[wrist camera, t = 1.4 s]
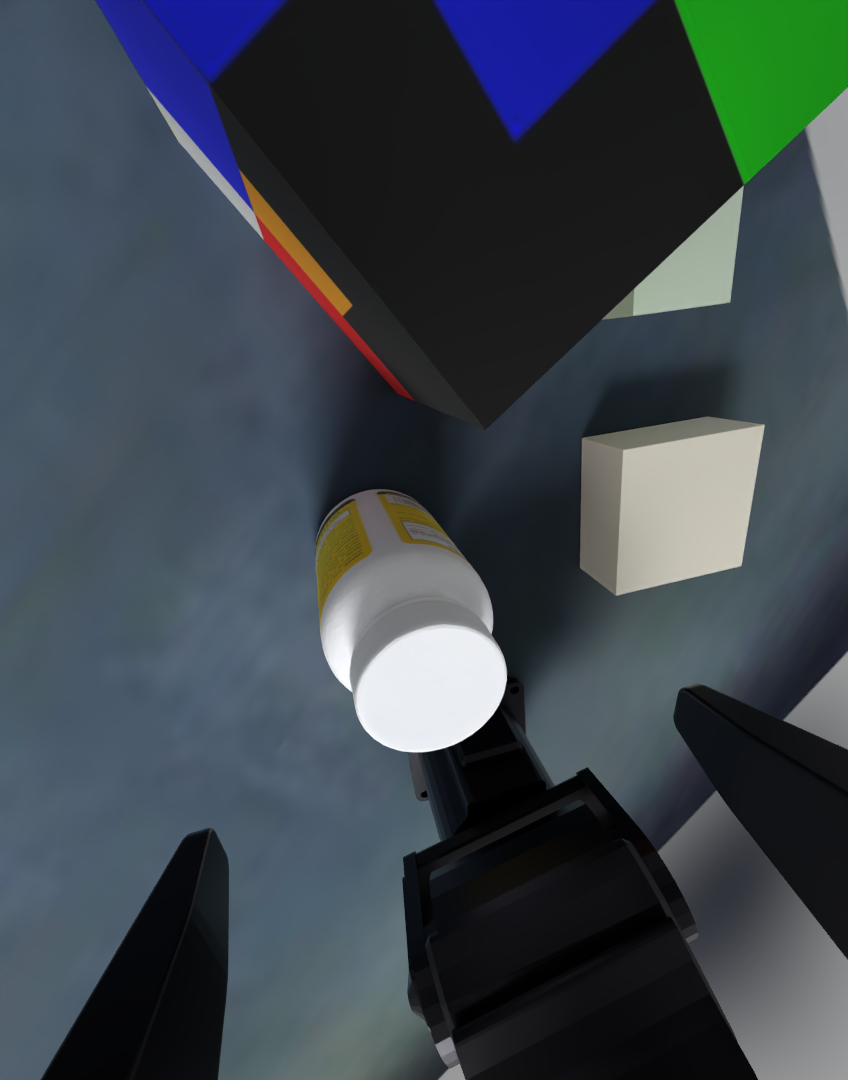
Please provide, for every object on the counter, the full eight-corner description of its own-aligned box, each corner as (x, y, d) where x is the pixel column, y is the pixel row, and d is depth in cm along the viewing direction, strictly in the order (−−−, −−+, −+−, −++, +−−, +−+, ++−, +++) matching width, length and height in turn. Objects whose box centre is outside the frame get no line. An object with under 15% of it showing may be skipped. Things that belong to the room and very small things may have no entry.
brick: (672, 309, 20) (729, 302, 17) (587, 321, 19) (632, 316, 17) (680, 197, 18) (745, 169, 16) (588, 205, 18) (639, 178, 15)
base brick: (693, 542, 25) (741, 566, 22) (579, 568, 23) (615, 595, 21) (708, 416, 22) (764, 424, 19) (582, 437, 21) (623, 450, 18)
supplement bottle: (330, 614, 21) (348, 799, 12) (300, 501, 19) (296, 628, 10) (445, 585, 22) (538, 740, 13) (428, 474, 20) (527, 570, 11)
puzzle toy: (178, 142, 14) (-35, -219, 5) (416, -118, 14) (639, -1067, 5) (396, 393, 19) (484, 430, 9) (588, 206, 18) (885, 50, 9)
